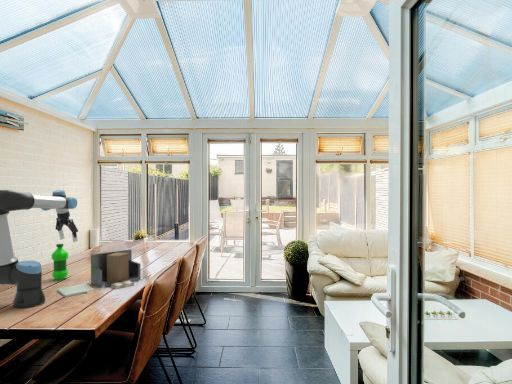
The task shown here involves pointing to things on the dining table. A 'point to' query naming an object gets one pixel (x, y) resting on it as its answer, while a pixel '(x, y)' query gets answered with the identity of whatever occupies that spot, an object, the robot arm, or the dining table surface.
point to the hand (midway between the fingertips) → (68, 240)
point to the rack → (101, 268)
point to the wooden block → (117, 267)
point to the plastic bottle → (59, 262)
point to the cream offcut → (122, 284)
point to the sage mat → (75, 290)
